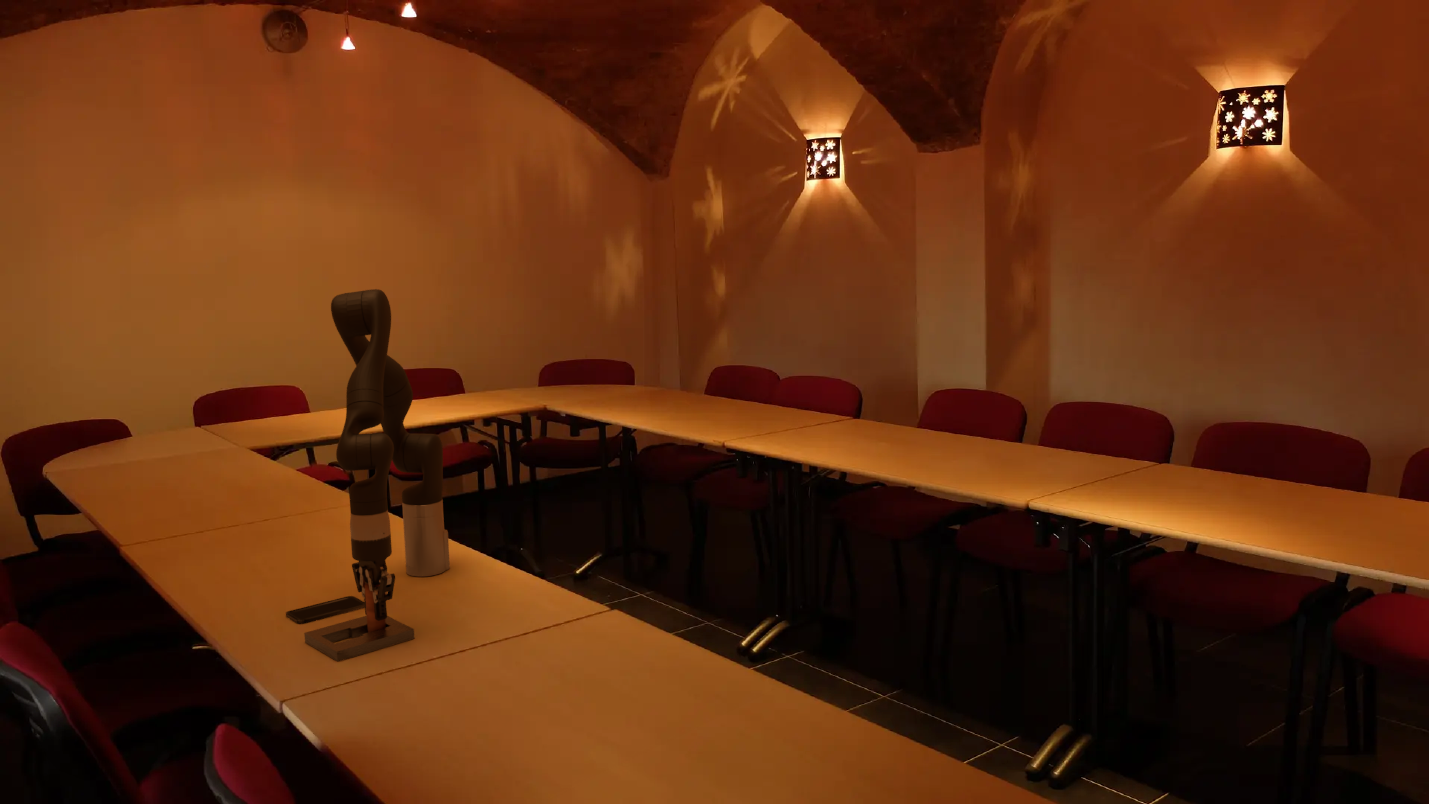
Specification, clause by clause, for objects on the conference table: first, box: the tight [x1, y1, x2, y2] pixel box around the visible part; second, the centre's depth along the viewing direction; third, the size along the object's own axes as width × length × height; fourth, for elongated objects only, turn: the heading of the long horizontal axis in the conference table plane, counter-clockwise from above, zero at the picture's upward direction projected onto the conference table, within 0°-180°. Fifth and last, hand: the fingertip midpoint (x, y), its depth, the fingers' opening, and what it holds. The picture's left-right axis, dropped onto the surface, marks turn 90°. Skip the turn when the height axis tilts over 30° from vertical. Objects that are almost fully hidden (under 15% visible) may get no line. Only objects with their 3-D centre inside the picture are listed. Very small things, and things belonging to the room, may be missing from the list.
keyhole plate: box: [303, 615, 415, 663], centre depth 211 cm, size 16×14×2 cm
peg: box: [365, 583, 386, 632], centre depth 213 cm, size 4×4×10 cm
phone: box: [285, 595, 365, 625], centre depth 228 cm, size 8×1×15 cm
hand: (376, 616), depth 213 cm, fingers closed on peg, 3 cm apart
